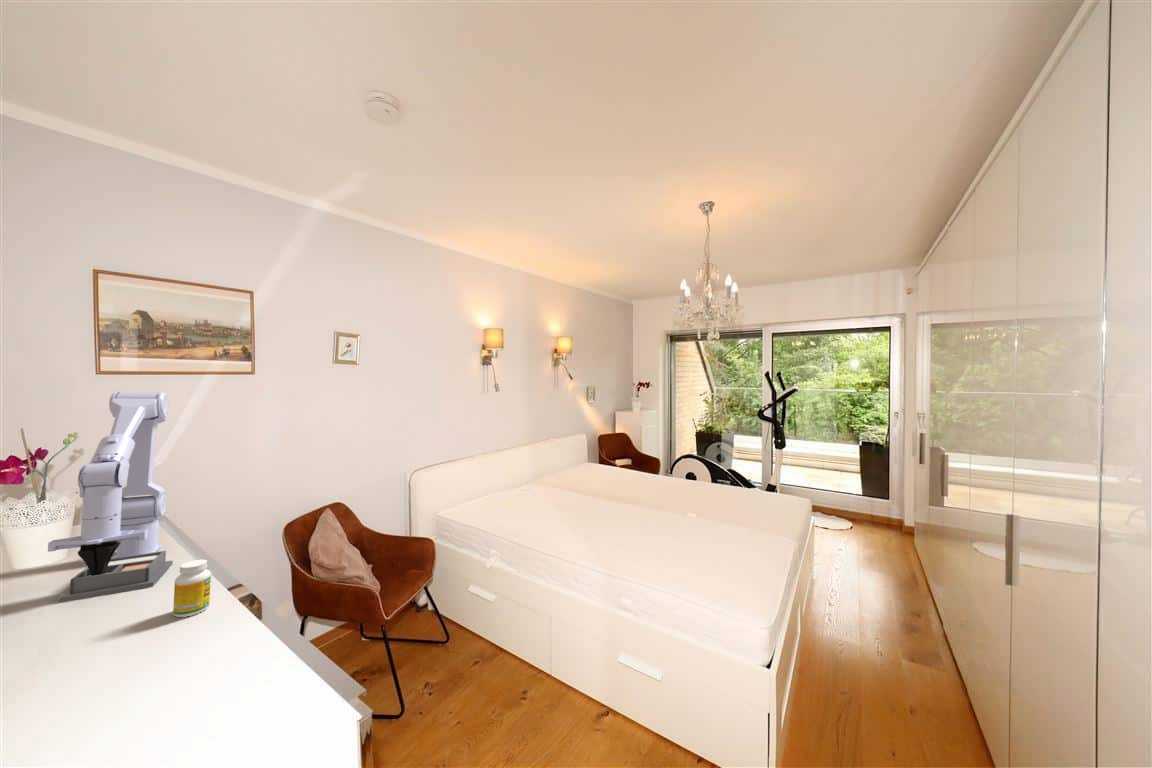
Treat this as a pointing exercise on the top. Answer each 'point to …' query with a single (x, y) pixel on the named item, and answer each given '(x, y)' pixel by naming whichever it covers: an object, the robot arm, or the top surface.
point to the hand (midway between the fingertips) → (98, 577)
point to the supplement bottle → (192, 589)
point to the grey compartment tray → (118, 577)
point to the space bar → (132, 560)
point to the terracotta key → (135, 567)
